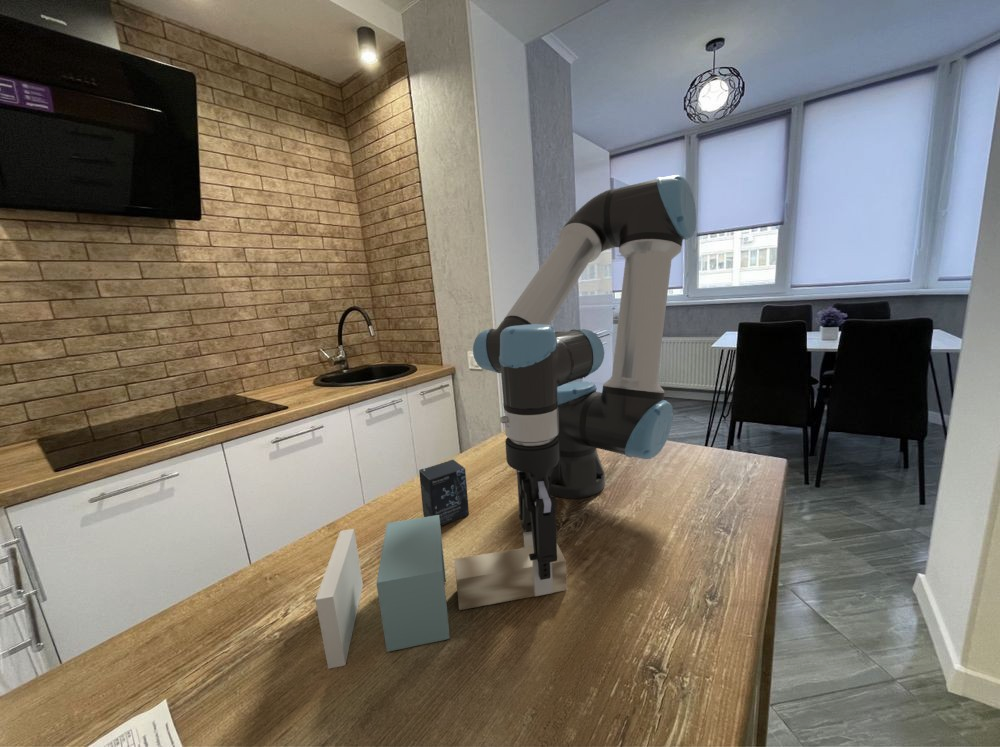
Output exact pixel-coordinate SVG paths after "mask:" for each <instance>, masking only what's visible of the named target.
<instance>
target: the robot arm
mask: <svg viewBox="0 0 1000 747" xmlns="http://www.w3.org/2000/svg"><path fill="white" fill-rule="evenodd" d="M696 211H697V210H696V203H695V199H694V194H693V191H692V188H691V186H690V183H689V181H688V180H687V179H686V178H685V177H684V176H682V175H678V174H675V175H668V176H664V177H663V176H662V177H661V176H658V177H657V178H656V179H655V178H654V179H650V180H647V181H643V182H638V183H633V184H630V185H625V186H621V187H617V188H612V189H607V190H605V191H602V192H601V193H599V194H597V195H595V196H594V197H592V198H591V199H589V201H587V202H586V203H585V204H583V205H582V206H581V207H580V208H579V209H578V210H576V212H575V213H574V214H572V216H571V217H570V218H569V219H568V221H567V222H566V223H565V225H564V226H563V227H562V228H561V230H560V232H559V234H558V238H557V240H558V242H557V244H556V245H555V247H554V248H553V250H551V252H550V254H549V255H548V256H547V258H546V259H545V261H544V262H543V263H542V265H541V266H540V267H539V269H538V270H537V272H536V273H535V275H534V276H533V277H532V279H531V280H530V282H529V283H528V284H527V286H526V287H525V289H524V290H523V292H521V294H520V296H519V297H518V298H517V299H516V302H515V303H514V304H513V306H512V307H511V308H510V310H509V311H508V312H507V314H506V315H505V316H504V318H503V320H502V321H501V322H500V324H498V326H497V328H490V329H486V330H483V331H481V332H479V333H478V334H477V335H476V337H475V338H474V341H473V344H472V345H473V346H472V355H473V359H474V361H475V362H476V365H478V366H479V367H480V368H481V369H483V370H485V371H489V372H493V373H496V374H500V377H501V387H502V388H501V390H502V400H503V401H502V402H503V403H502V404H503V413H504V416H500V418H499V421H500V422H499V423H501V424H504V434H505V436H506V438H505V442H504V443H505V456H506V463H507V465H508V466H509V467H510V468H511V469H513V470H515V471H516V478H517V481H516V482H517V495H518V498H517V499H518V511H519V512H518V513H519V515H518V517H519V520H520V521H521V529H522V530H523V546H524V547H523V548H525V547H531V546H533V547H534V553H532V554H529V558H530V560H531V561H532V566H533V585H534V594H535V596H534V597H539V596H544V595H549V594H553V577H552V562H554V561H557V544H558V542H557V541H558V540H557V514H556V513H557V505H558V501H557V500H558V499H557V497H558V498H564V499H583V498H589V497H591V496H594V495H596V494H598V493H601V491H602V490H604V488H605V486H606V476H605V475H606V474H605V471H604V468H603V465H602V462H601V459H600V457H599V454H598V451H597V449H600V450H603V451H606V452H611V453H616V454H619V455H623V456H626V457H627V458H637V459H642V460H650V459H653V458H655V457H656V456H657V455H659V454H660V452H661V451H662V450H663V448H664V446H665V445H666V443H667V441H668V439H669V435H670V432H671V430H672V425H673V422H674V421H673V420H674V414H673V412H674V409H673V406H672V404H671V403H670V402H669V401H667V400H664V398H665V390H664V389H663V388H662V386H661V385H660V384H659V382H658V378H659V368H660V359H661V351H662V343H663V334H664V326H665V319H666V308H667V300H668V294H669V284H670V278H671V276H670V275H671V269H672V267H671V266H672V260H673V259H674V258H676V257H677V256H678V255H679V254H681V252H682V247H683V240H685V241H686V240H689V239H691V238H692V237H693V236H694V235H695V231H696V229H697V212H696ZM613 248H614V249H615V248H618V252H619V254H621V256H622V257H623V258H624V260H625V261H624V270H623V277H622V286H621V294H620V295H621V296H620V305H619V311H618V312H619V313H618V321H617V329H616V330H617V331H616V338H615V345H614V346H615V348H614V354H613V363H612V372H611V376H610V378H609V379H607V381H605V382H604V383H603V384H602V391H601V392H598V391H597V389H598V388H597V387H596V383H594V382H592V381H578V380H579V379H580V380H581V379H583V378H584V379H585V378H586V377H588V376H589V375H591V374H593V373H595V372H596V371H597V370H599V368H600V367H601V366H602V364H603V362H604V358H605V348H604V345H603V342H602V339H600V337H599V336H598V335H597V334H596V333H595V332H593V331H592V330H589V329H583V328H582V329H574V328H573V329H571V330H568V331H555V328H554V326H552V325H550V324H551V322H552V320H553V319H554V317H555V316H556V314H557V313H558V311H559V309H560V308H561V307H562V305H563V303H565V300H566V299H567V297H568V295H569V294H570V292H571V291H572V290H573V288H574V286H575V285H576V283H577V282H578V281H579V279H580V277H581V276H582V274H583V272H584V271H585V269H586V268H587V266H588V264H589V263H592V262H594V261H595V260H597V259H598V258H599V257H600V255H601V253H603V252H604V251H607V250H609V249H613ZM576 380H577V381H576ZM524 531H525V532H524Z"/></svg>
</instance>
